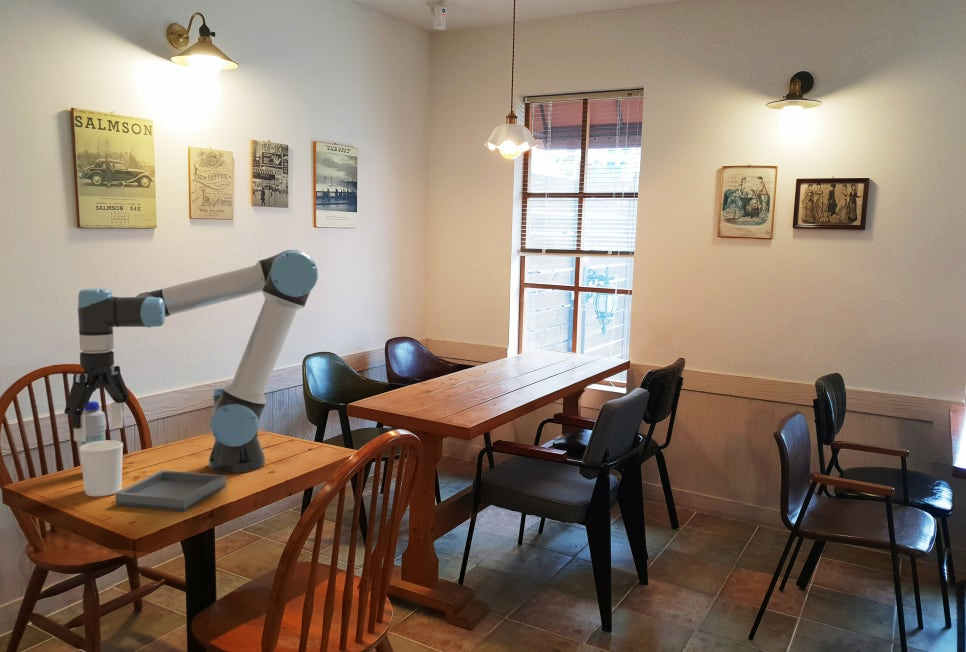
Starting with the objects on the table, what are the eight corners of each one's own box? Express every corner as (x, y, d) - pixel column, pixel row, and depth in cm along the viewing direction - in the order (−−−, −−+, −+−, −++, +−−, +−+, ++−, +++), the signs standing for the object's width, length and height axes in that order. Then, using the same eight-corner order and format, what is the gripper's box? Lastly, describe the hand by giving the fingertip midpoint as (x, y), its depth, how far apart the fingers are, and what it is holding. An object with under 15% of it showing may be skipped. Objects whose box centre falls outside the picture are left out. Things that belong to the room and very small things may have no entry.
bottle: (113, 469, 204) (110, 399, 201) (101, 477, 197) (98, 404, 195) (88, 469, 203) (85, 398, 201) (76, 476, 197) (72, 404, 194)
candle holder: (133, 486, 190) (131, 441, 189) (106, 499, 180) (104, 452, 179) (100, 483, 192) (98, 438, 191) (72, 495, 182) (70, 449, 181)
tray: (162, 481, 194) (162, 470, 194) (225, 486, 191) (225, 475, 191) (115, 505, 176) (115, 493, 176) (184, 511, 173) (184, 499, 173)
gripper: (117, 343, 195) (119, 421, 197) (45, 357, 170) (48, 445, 173) (142, 344, 193) (144, 423, 196) (73, 359, 169) (76, 448, 172)
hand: (99, 433), depth 184 cm, fingers open, 13 cm apart
